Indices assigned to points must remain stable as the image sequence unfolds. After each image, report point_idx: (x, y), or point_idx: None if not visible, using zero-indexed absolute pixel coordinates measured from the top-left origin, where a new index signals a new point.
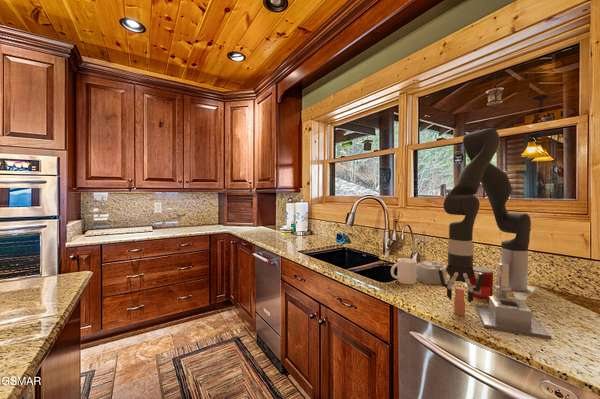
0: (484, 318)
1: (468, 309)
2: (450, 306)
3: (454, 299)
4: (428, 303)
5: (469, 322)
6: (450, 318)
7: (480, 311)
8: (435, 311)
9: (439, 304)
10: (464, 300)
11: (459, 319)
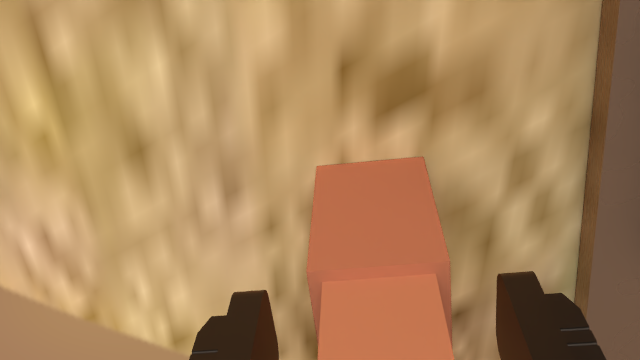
0: (613, 305)
1: (494, 28)
2: (271, 46)
3: (314, 307)
4: (7, 91)
5: (453, 355)
6: (292, 353)
7: (628, 137)
8: (141, 274)
9: (134, 51)
10: (449, 331)
11: None
